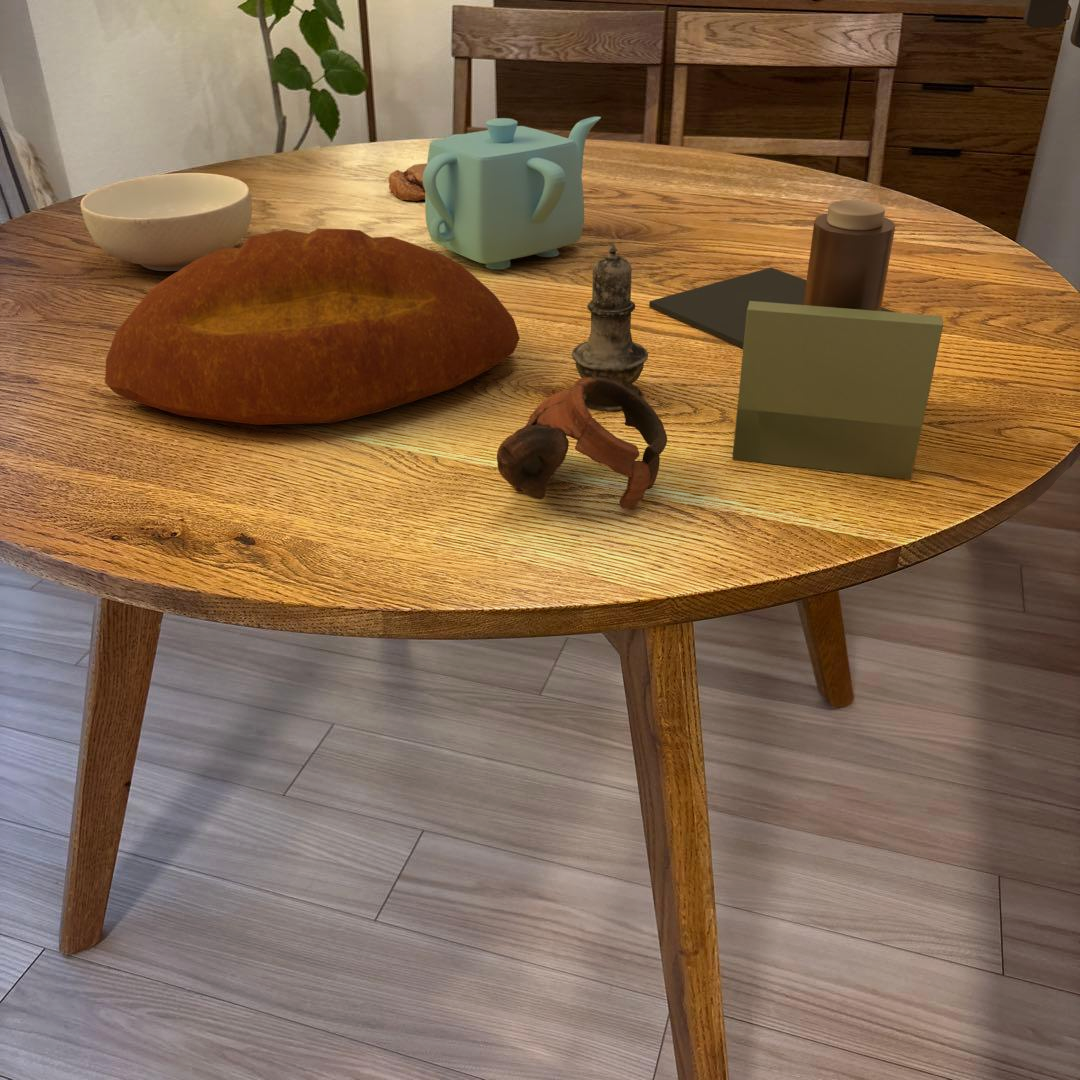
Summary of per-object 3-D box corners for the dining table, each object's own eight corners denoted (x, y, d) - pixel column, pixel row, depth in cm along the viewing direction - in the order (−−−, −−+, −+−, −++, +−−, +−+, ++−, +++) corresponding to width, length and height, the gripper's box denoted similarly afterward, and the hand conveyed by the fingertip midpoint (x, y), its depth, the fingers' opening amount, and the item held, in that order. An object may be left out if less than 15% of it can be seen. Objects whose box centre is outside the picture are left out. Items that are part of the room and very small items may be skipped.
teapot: (560, 283, 104) (561, 142, 96) (406, 271, 107) (395, 133, 100) (599, 230, 118) (602, 104, 111) (462, 221, 122) (456, 98, 115)
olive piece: (748, 388, 82) (763, 251, 76) (906, 404, 80) (934, 263, 74) (732, 459, 73) (747, 309, 67) (911, 479, 70) (943, 325, 64)
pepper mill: (828, 355, 78) (852, 192, 71) (884, 379, 74) (915, 209, 68) (779, 372, 75) (799, 205, 69) (834, 397, 72) (861, 223, 65)
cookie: (468, 202, 128) (467, 177, 127) (383, 203, 129) (381, 178, 127) (474, 181, 137) (473, 158, 135) (394, 182, 137) (392, 158, 135)
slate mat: (770, 272, 105) (770, 267, 105) (898, 319, 94) (899, 313, 94) (648, 307, 98) (649, 301, 97) (772, 362, 87) (773, 355, 86)
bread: (543, 420, 78) (541, 258, 72) (89, 462, 74) (41, 293, 67) (502, 319, 96) (498, 181, 89) (133, 348, 91) (98, 205, 84)
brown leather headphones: (559, 442, 76) (618, 358, 71) (638, 537, 73) (706, 456, 68) (440, 464, 67) (498, 369, 63) (525, 573, 64) (593, 482, 59)
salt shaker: (558, 389, 83) (557, 239, 76) (621, 374, 85) (626, 228, 78) (594, 418, 78) (597, 262, 72) (660, 402, 81) (669, 249, 74)
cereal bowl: (61, 278, 107) (42, 208, 103) (157, 231, 120) (143, 168, 116) (205, 293, 103) (191, 221, 99) (288, 243, 116) (278, 177, 112)
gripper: (1308, -354, 45) (1185, 56, 54) (1171, -309, 57) (1089, 20, 66) (1127, -348, 46) (1035, 56, 54) (1029, -305, 57) (966, 21, 66)
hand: (1065, 36), depth 60 cm, fingers open, 8 cm apart
